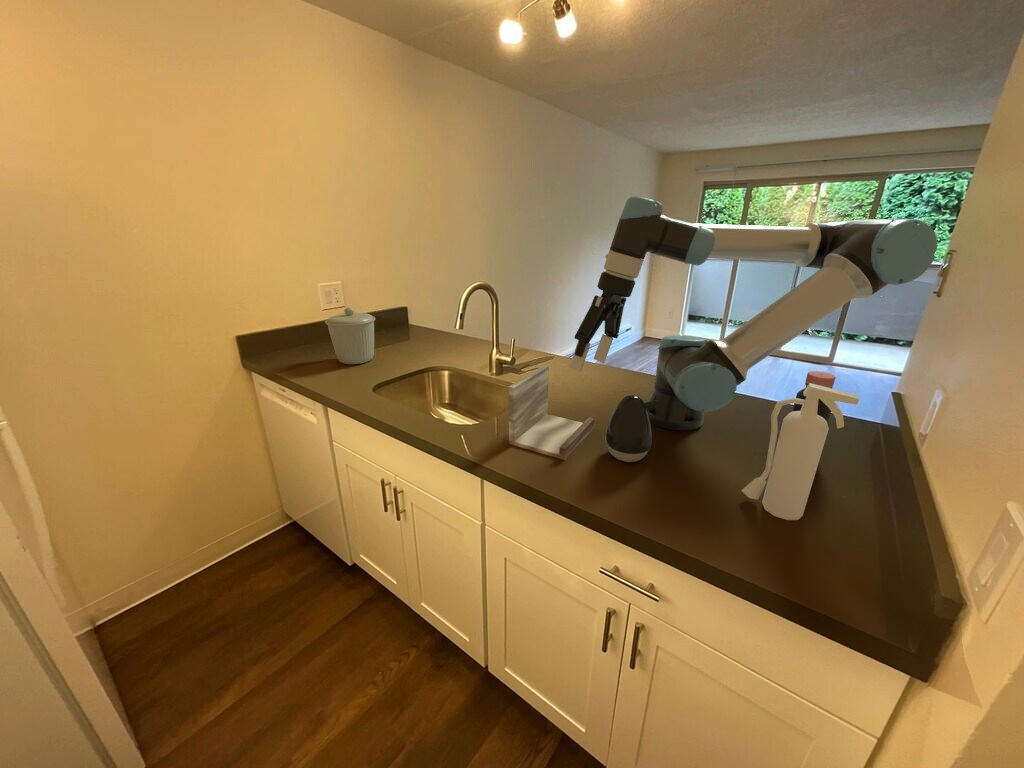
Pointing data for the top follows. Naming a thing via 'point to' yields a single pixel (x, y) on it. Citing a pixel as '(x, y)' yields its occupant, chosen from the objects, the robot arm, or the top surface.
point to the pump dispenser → (630, 429)
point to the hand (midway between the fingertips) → (587, 365)
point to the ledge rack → (541, 419)
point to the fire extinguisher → (796, 452)
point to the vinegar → (821, 380)
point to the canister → (352, 336)
